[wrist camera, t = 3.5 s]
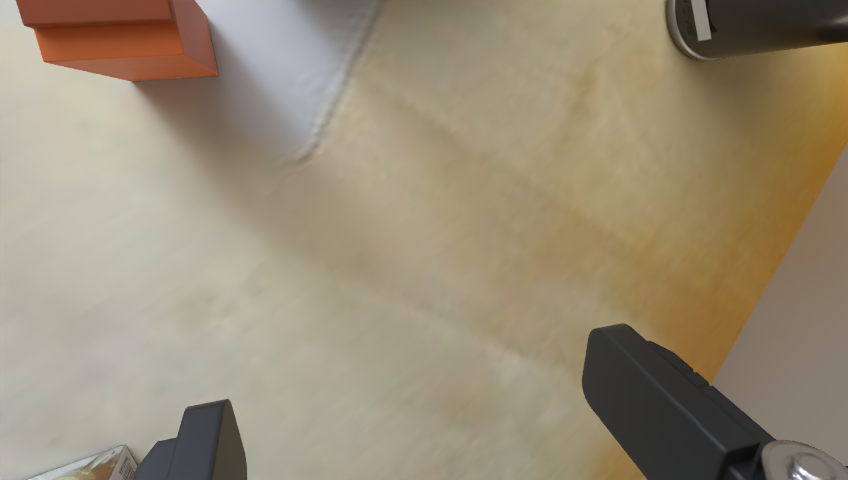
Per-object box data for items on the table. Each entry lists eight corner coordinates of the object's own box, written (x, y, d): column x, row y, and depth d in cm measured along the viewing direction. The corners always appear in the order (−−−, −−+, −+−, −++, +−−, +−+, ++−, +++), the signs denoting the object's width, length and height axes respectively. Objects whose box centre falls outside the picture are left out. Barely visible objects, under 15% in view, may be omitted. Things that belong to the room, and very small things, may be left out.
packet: (206, 15, 29) (158, -47, 18) (218, 75, 30) (180, 51, 19) (114, 18, 28) (0, -47, 17) (130, 81, 29) (33, 60, 18)
